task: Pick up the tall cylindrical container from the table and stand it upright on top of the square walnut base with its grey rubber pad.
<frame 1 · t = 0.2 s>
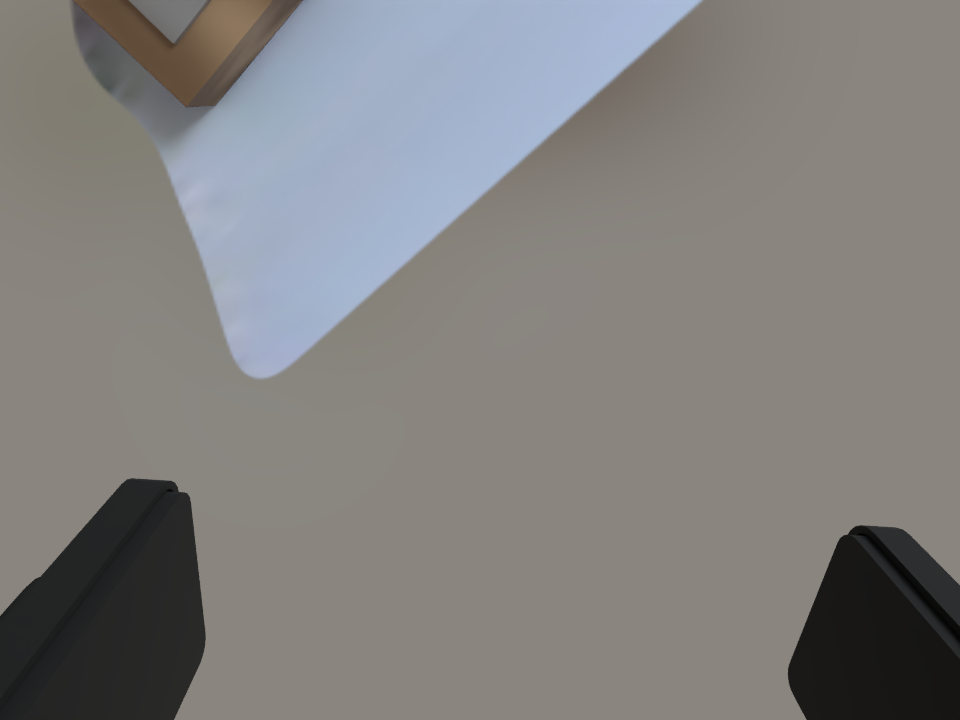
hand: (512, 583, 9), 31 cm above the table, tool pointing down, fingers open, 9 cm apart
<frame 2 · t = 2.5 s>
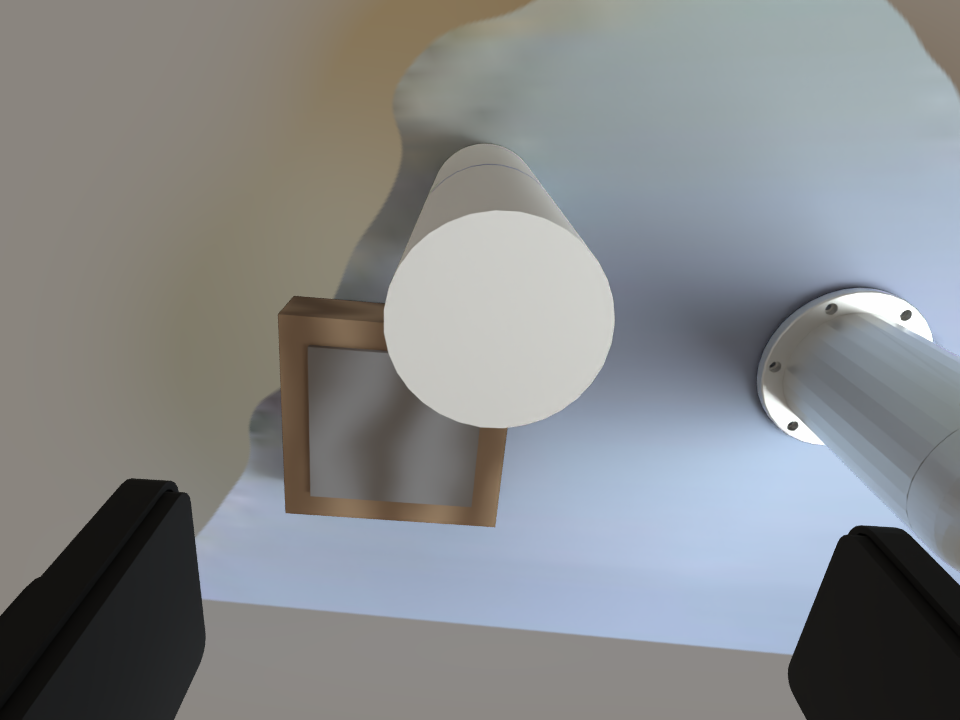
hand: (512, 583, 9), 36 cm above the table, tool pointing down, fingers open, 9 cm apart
walnut base: (400, 403, 48), on the table
cylindrical container: (484, 198, 42), on the table
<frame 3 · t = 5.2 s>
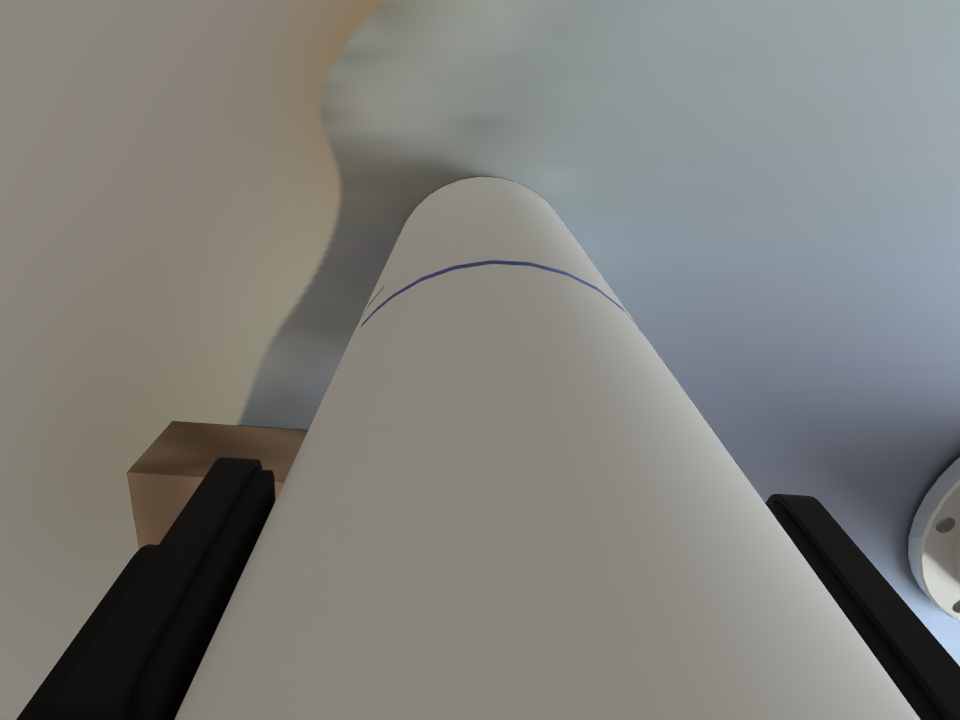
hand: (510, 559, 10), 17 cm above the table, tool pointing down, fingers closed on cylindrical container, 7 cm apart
walnut base: (353, 573, 31), on the table
cylindrical container: (483, 267, 25), on the table, touching gripper
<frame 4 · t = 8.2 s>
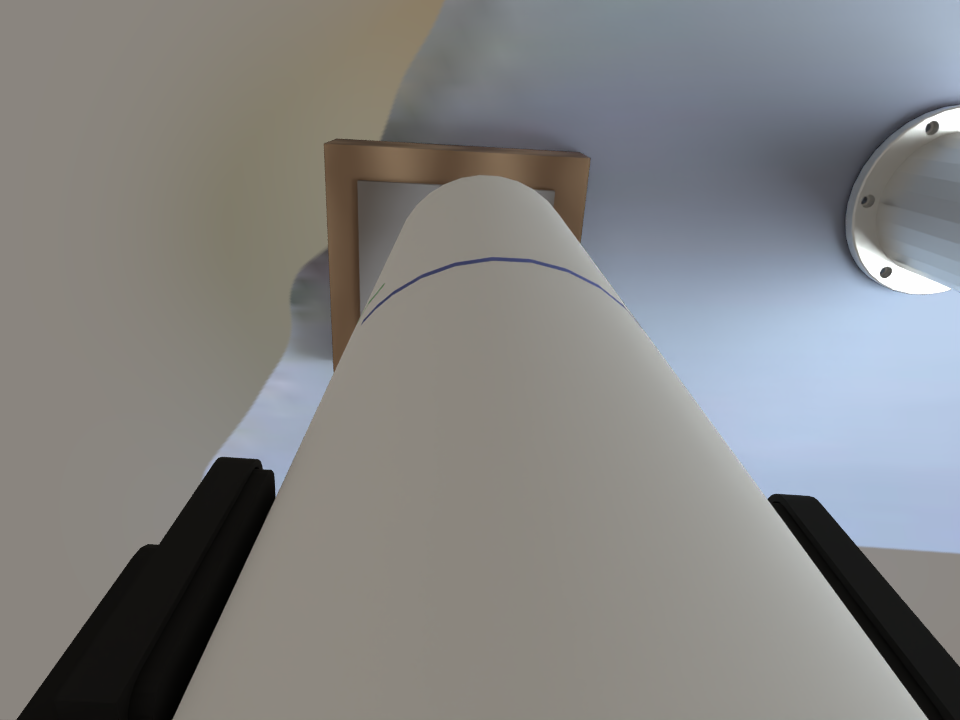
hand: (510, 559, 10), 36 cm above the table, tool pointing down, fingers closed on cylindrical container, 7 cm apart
walnut base: (454, 264, 44), on the table
cylindrical container: (483, 266, 25), point 19 cm above the table, touching gripper
when the fingers open (23 cm above the table, at t = 11.6 s): cylindrical container drops 1 cm, resting on walnut base.
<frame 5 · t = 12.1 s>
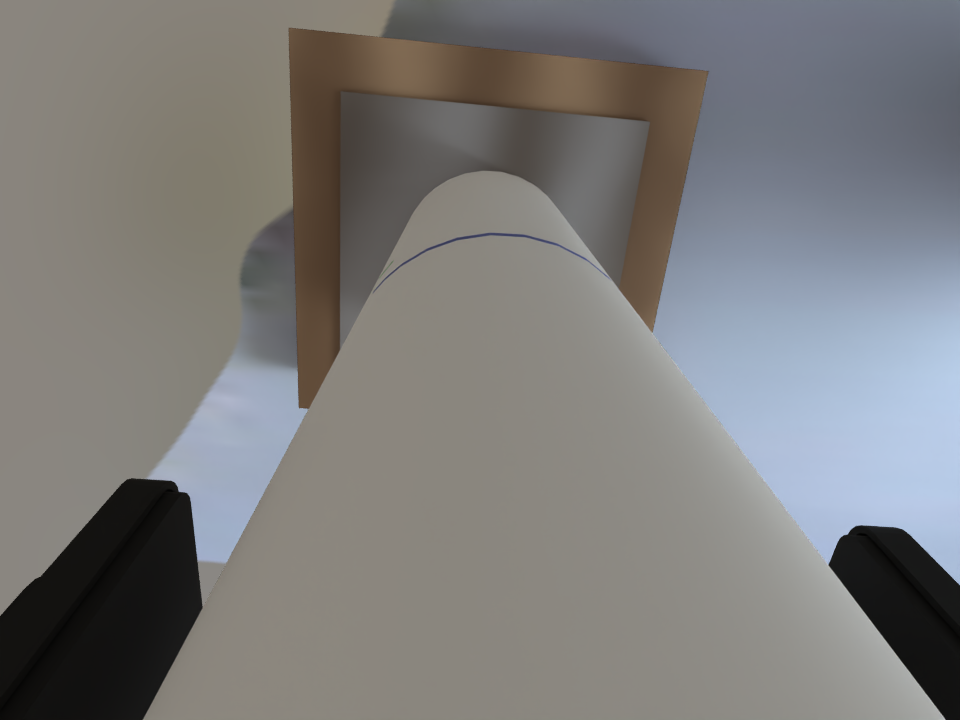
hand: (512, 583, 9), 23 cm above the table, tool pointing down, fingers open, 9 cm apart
walnut base: (480, 236, 30), on the table
cylindrical container: (486, 257, 27), point 4 cm above the table, touching walnut base
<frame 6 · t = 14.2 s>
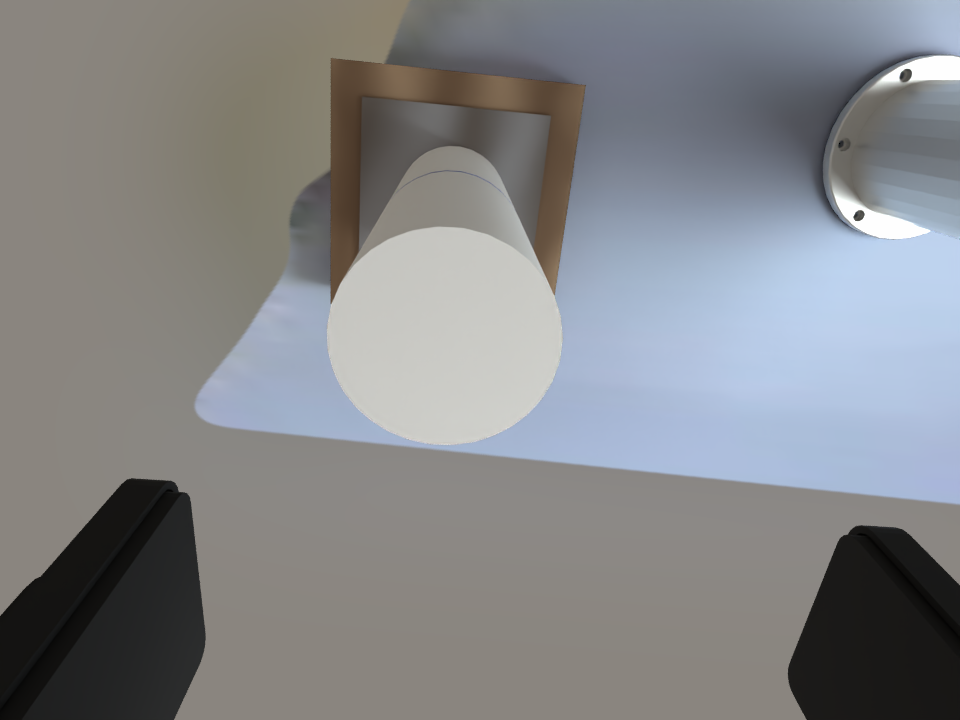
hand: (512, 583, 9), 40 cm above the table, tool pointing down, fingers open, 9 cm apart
walnut base: (450, 192, 46), on the table
cylindrical container: (452, 201, 42), point 4 cm above the table, touching walnut base
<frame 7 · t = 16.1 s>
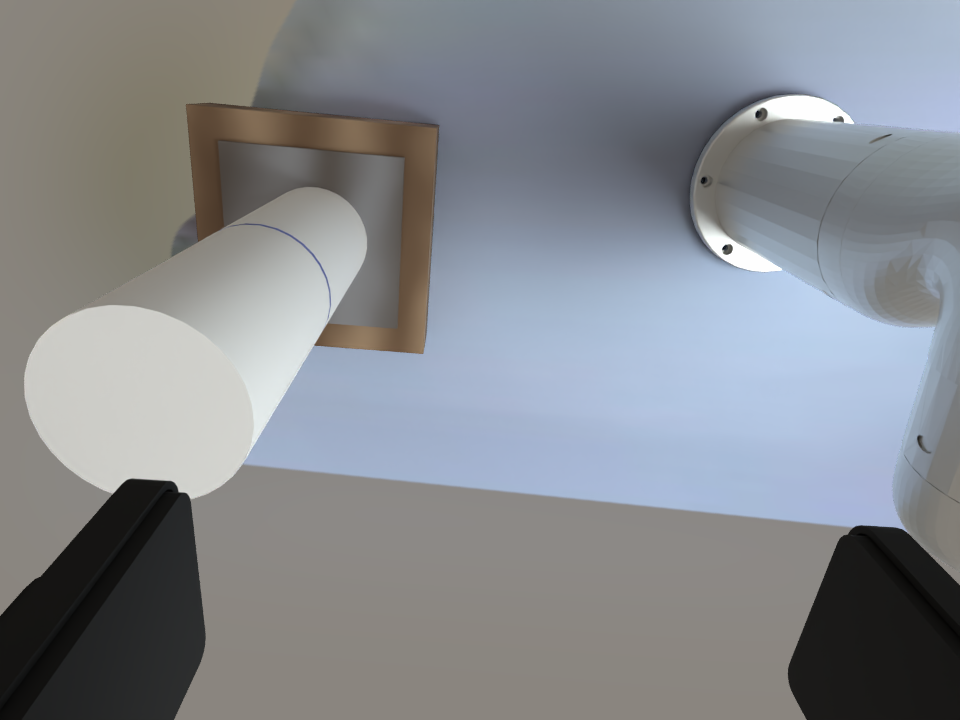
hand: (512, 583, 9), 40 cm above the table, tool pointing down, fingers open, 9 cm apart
walnut base: (326, 227, 47), on the table
cylindrical container: (315, 239, 43), point 4 cm above the table, touching walnut base
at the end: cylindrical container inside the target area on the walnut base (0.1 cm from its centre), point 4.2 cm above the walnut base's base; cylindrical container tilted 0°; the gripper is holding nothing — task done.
